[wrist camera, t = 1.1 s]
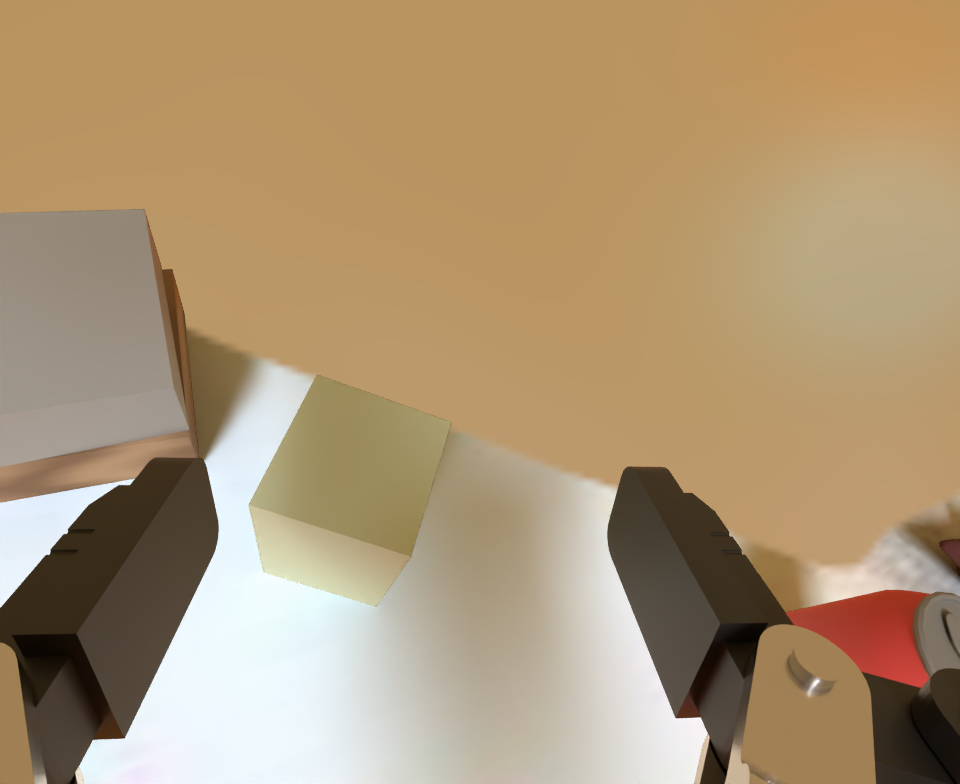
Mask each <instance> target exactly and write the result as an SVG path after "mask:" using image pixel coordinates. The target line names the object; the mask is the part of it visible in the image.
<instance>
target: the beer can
mask: <svg viewBox="0 0 960 784" xmlns="http://www.w3.org/2000/svg"><path fill="white" fill-rule="evenodd" d="M785 613H786V614H787V615H788V617H789V618H790V620H791V621H792V623H793V624H794V625H795V626H799V627H802V628H805V629H808V630H810V631H813V632H815V633H817V634H819V635H821V636H823V637H824V638H826V639H827V640H829V641H831V642H832V643H833V644H835V645H836V646H837V647H839V648H840V649H841V650H842V651H843V652H844V653H846V654H847V655H848V656H849V657H850V658H851V660H852V661H853V662H854V663H855V664H856V665H857V667H858V668H859V669H860V671H862V672H865V673H869V674H872V675H876V676H880V677H883V678H887V679H890V680H894V681H898V682H901V683H905V684H909V685H912V686H916V687H920V688H922V687H923V685H924V684H925V683H926V682H927V681H928V679H929V678H930V677H931V676H932V675H933V674H934V673H935V672H936V671H938V670H941V669H945V668H954V669H960V597H959V596H957V595H955V594H952V593H944V592H935V593H932V594H927V593H921V592H913V591H904V590H884V591H879V592H875V593H870V594H866V595H862V596H857V597H853V598H848V599H844V600H839V601H835V602H830V603H826V604H821V605H817V606H812V607H808V608H803V609H799V610H794V611H790V612H785Z"/></svg>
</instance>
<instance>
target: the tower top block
mask: <svg viewBox="0 0 960 784" xmlns="http://www.w3.org/2000/svg"><path fill="white" fill-rule="evenodd" d="M188 430H189V424H188V419H187V413H186V407H185V401H184V395H183V390H182V384H181V378H180V372H179V366H178V361H177V355H176V349H175V343H174V337H173V331H172V326H171V320H170V314H169V308H168V302H167V297H166V291H165V285H164V279H163V273H162V268H161V263H160V260H159V257H158V253H157V250H156V246H155V243H154V240H153V236H152V233H151V230H150V226H149V223H148V220H147V216H146V213H145V210H144V209H133V210H96V211H63V212H62V211H61V212H25V213H0V467H4V466H9V465H14V464H19V463H24V462H29V461H35V460H40V459H45V458H50V457H55V456H60V455H65V454H70V453H75V452H81V451H86V450H91V449H96V448H101V447H106V446H111V445H116V444H122V443H127V442H132V441H137V440H142V439H147V438H152V437H157V436H162V435H168V434H173V433H178V432H183V431H188Z"/></svg>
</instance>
